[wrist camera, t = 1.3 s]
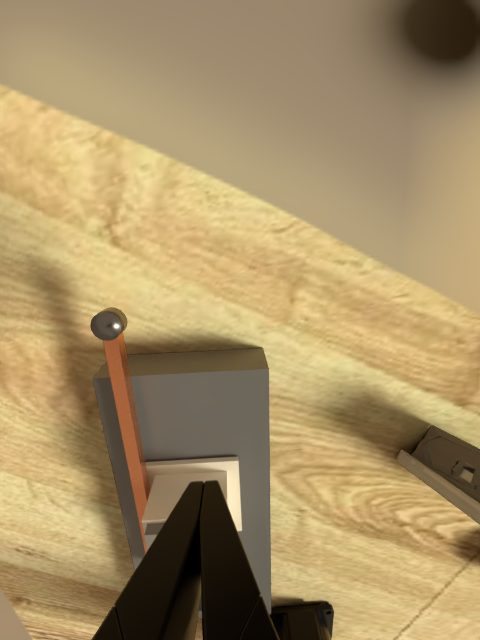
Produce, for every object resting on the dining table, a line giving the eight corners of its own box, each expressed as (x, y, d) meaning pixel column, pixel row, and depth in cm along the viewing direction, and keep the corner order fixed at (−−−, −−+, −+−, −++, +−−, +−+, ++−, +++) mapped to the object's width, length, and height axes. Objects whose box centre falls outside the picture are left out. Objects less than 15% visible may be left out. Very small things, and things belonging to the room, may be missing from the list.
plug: (240, 498, 22) (244, 592, 17) (161, 504, 22) (138, 600, 17) (237, 433, 21) (240, 514, 15) (151, 439, 20) (121, 522, 15)
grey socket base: (266, 572, 27) (272, 625, 23) (155, 579, 26) (143, 635, 23) (262, 347, 20) (270, 375, 16) (112, 355, 19) (86, 385, 16)
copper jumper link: (174, 571, 21) (170, 592, 19) (145, 573, 21) (140, 594, 19) (131, 306, 15) (123, 312, 13) (90, 307, 15) (79, 314, 13)
